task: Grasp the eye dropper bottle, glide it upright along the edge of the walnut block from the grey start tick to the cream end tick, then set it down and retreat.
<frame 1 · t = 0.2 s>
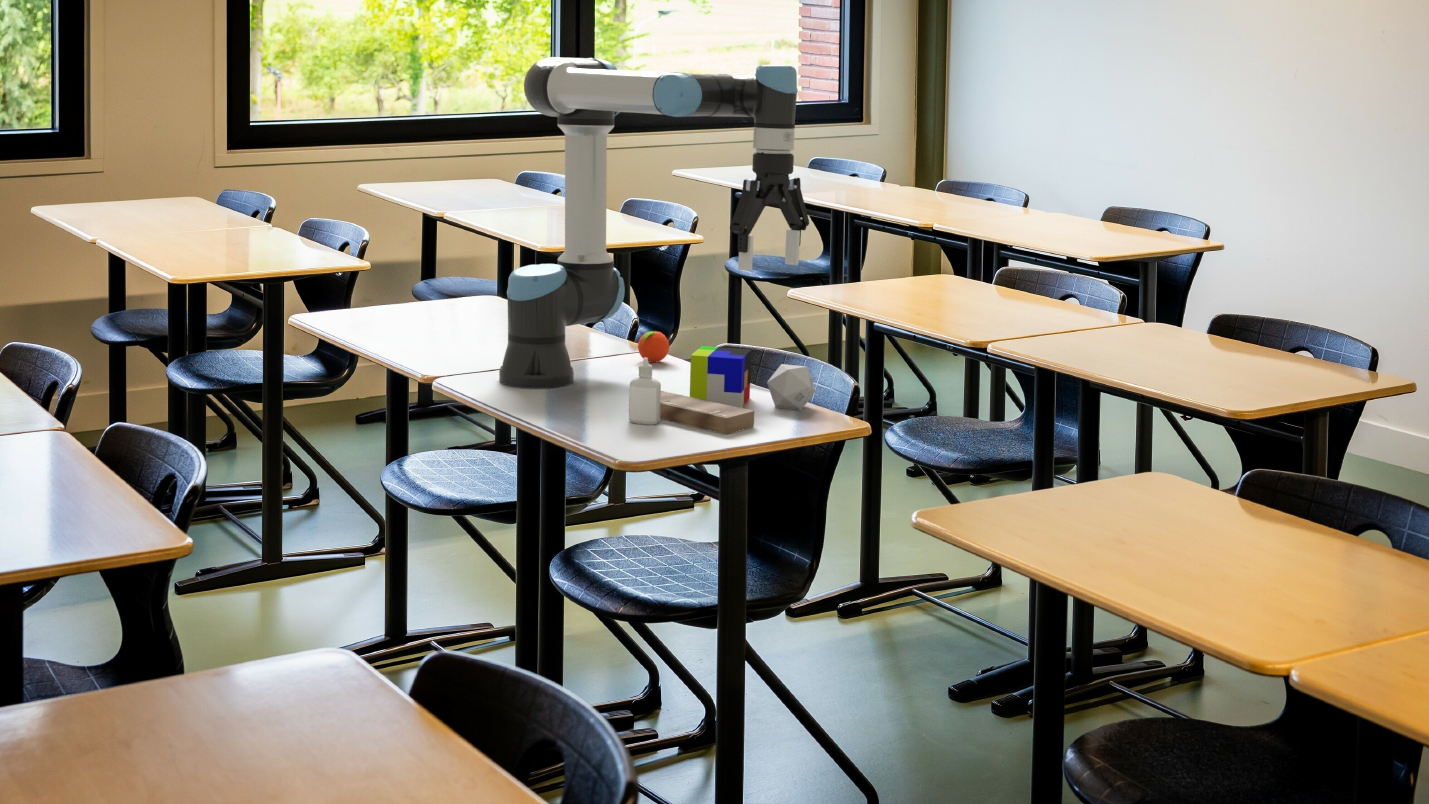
hand: (768, 267, 262), 28 cm above the table, tool pointing down, fingers open, 13 cm apart
puzzle toy: (719, 403, 276), on the table
clementine: (651, 363, 311), on the table
walnut block: (691, 419, 261), on the table
die: (790, 407, 274), on the table
eye dropper bottle: (644, 423, 258), on the table
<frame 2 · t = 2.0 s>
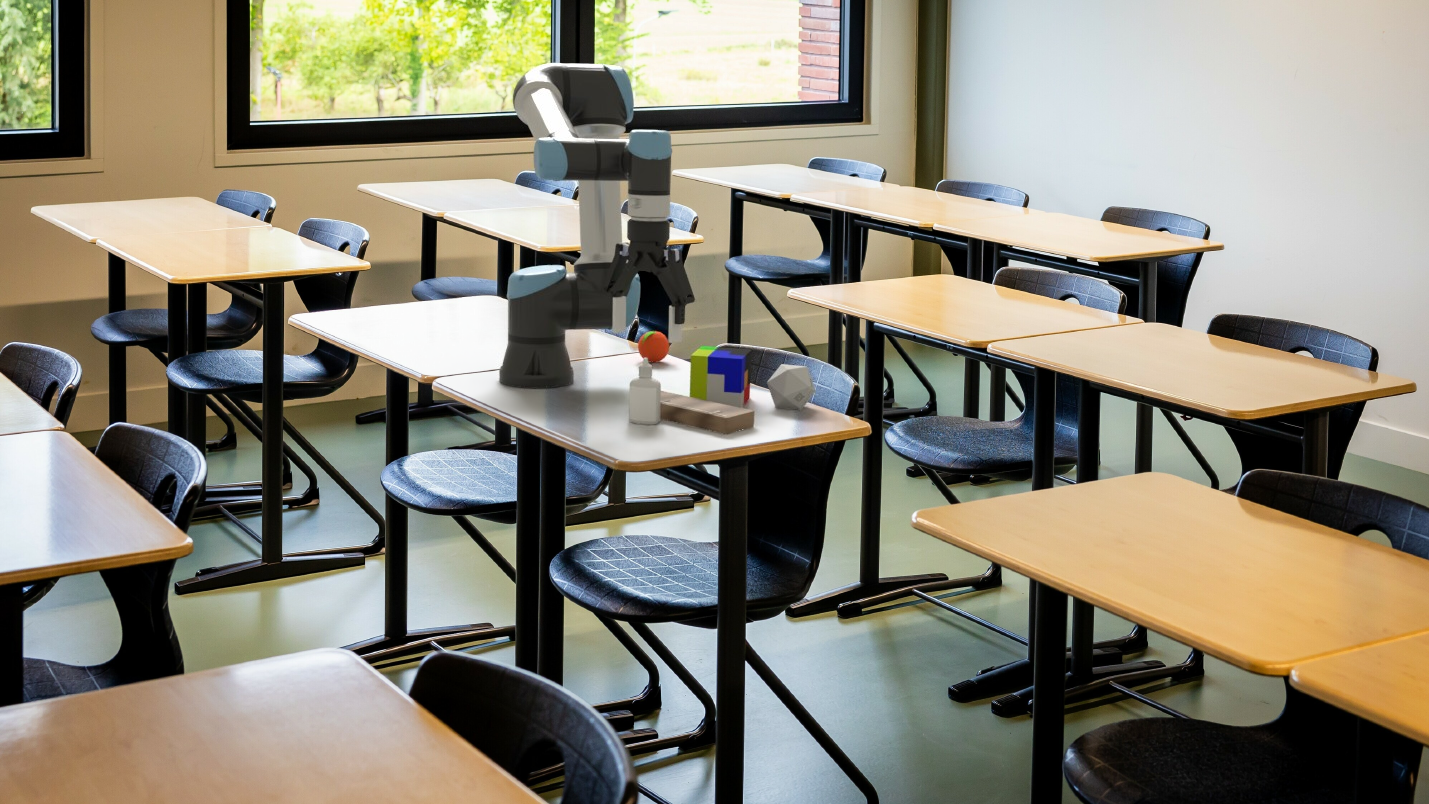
hand: (646, 337, 254), 16 cm above the table, tool pointing down, fingers open, 13 cm apart
nothing on the table moved.
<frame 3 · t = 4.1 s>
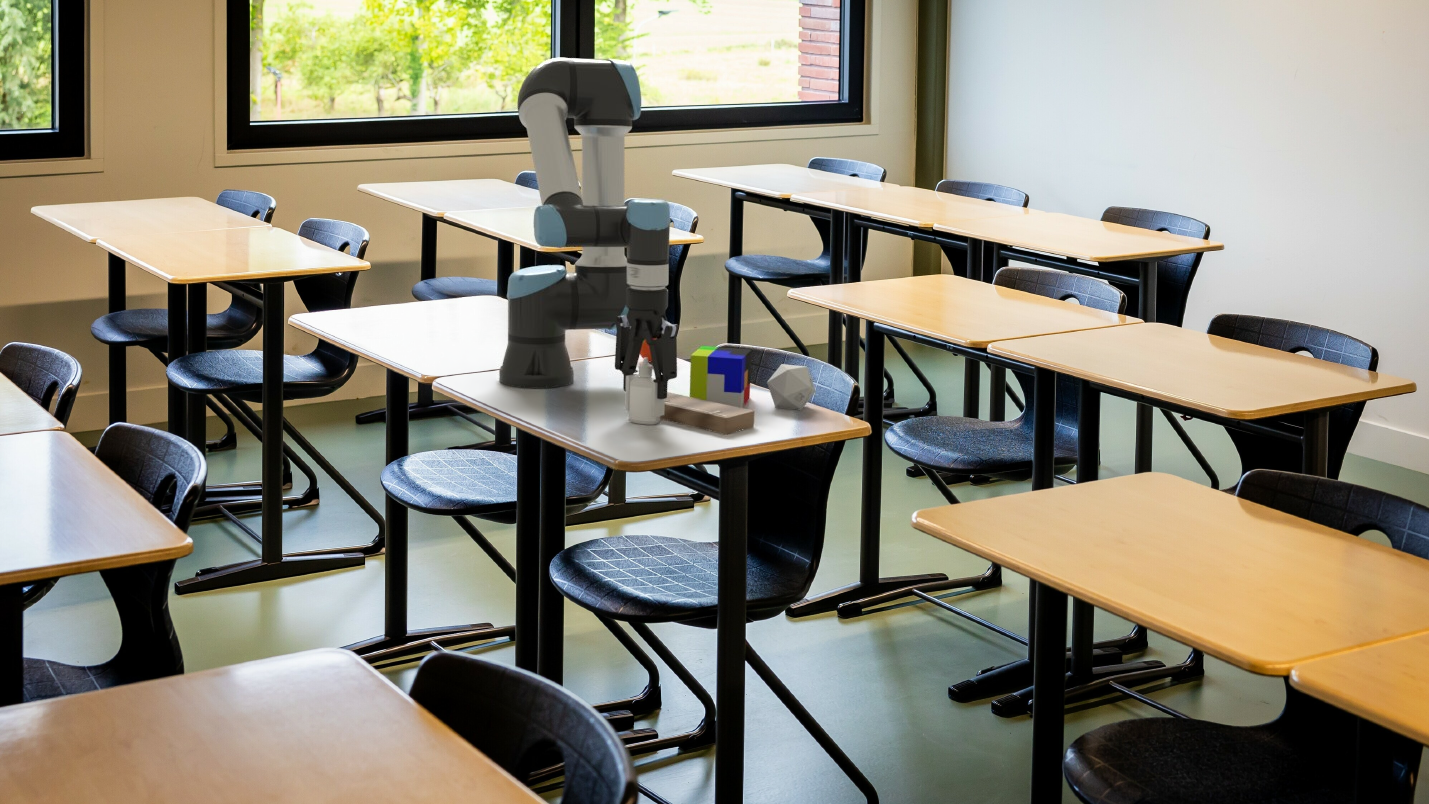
hand: (644, 412, 257), 2 cm above the table, tool pointing down, fingers closed on eye dropper bottle, 6 cm apart
eye dropper bottle: (644, 423, 258), on the table, touching gripper
everything else where it was.
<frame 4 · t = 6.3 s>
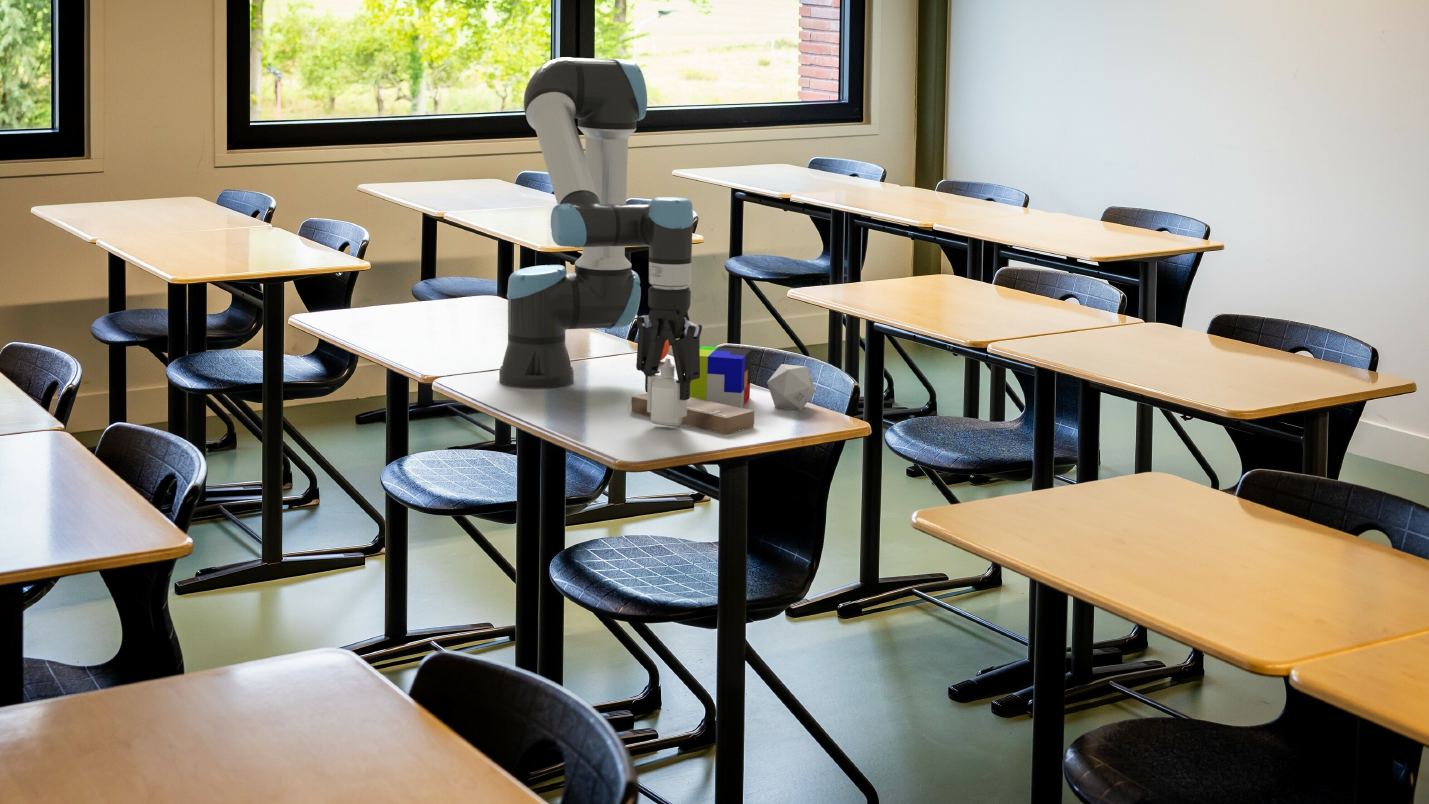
hand: (666, 413, 254), 3 cm above the table, tool pointing down, fingers closed on eye dropper bottle, 6 cm apart
eye dropper bottle: (666, 424, 254), point 1 cm above the table, touching gripper
everything else where it was.
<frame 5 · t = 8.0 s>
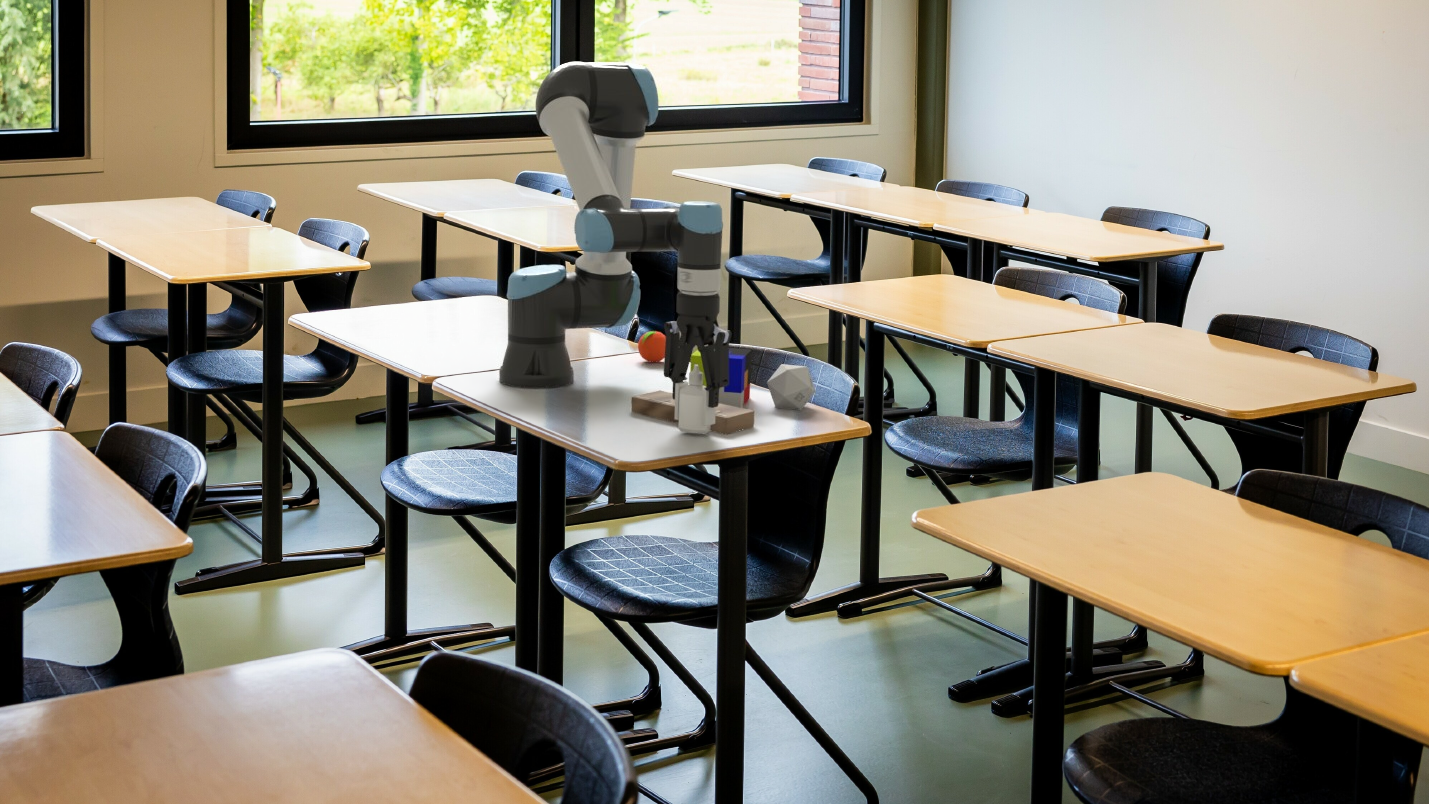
hand: (694, 421, 250), 2 cm above the table, tool pointing down, fingers closed on eye dropper bottle, 6 cm apart
eye dropper bottle: (694, 432, 250), on the table, touching gripper
everything else where it was.
when the fingers open (2 cm above the table, at t = 8.8 s): eye dropper bottle stays where it is, on the table.
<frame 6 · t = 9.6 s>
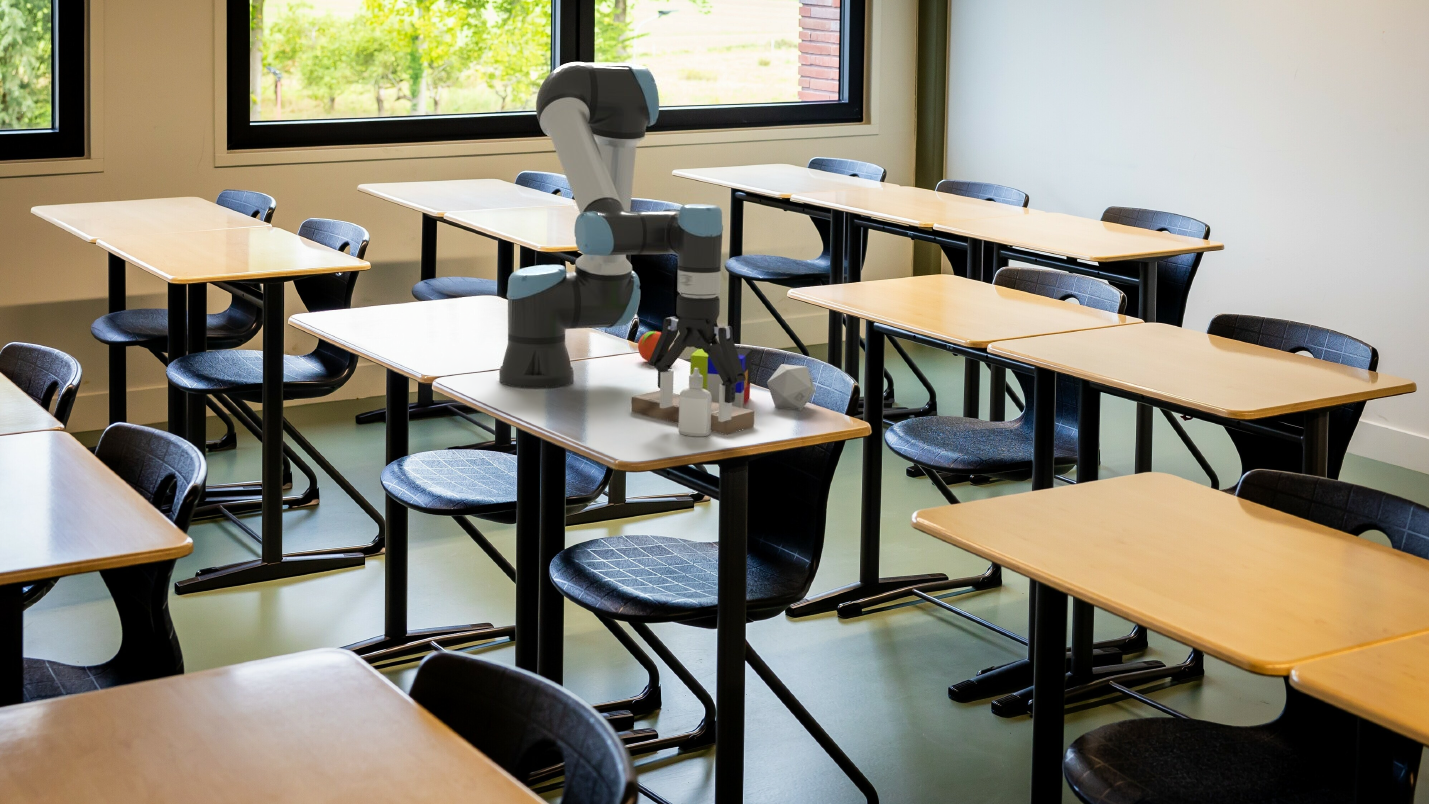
hand: (695, 413, 249), 4 cm above the table, tool pointing down, fingers open, 13 cm apart
eye dropper bottle: (694, 435, 250), on the table
everything else where it was.
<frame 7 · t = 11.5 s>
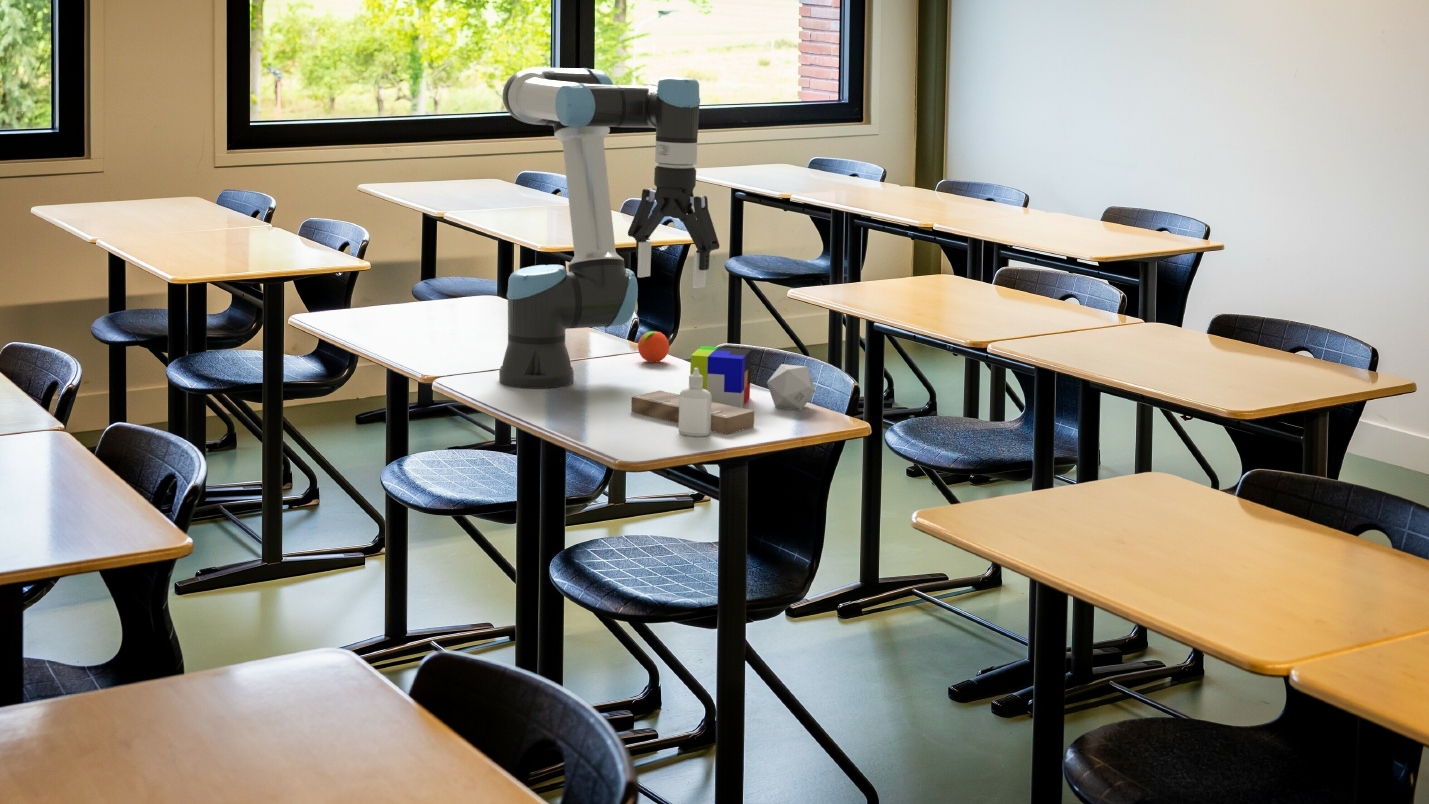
hand: (671, 282, 259), 25 cm above the table, tool pointing down, fingers open, 13 cm apart
nothing on the table moved.
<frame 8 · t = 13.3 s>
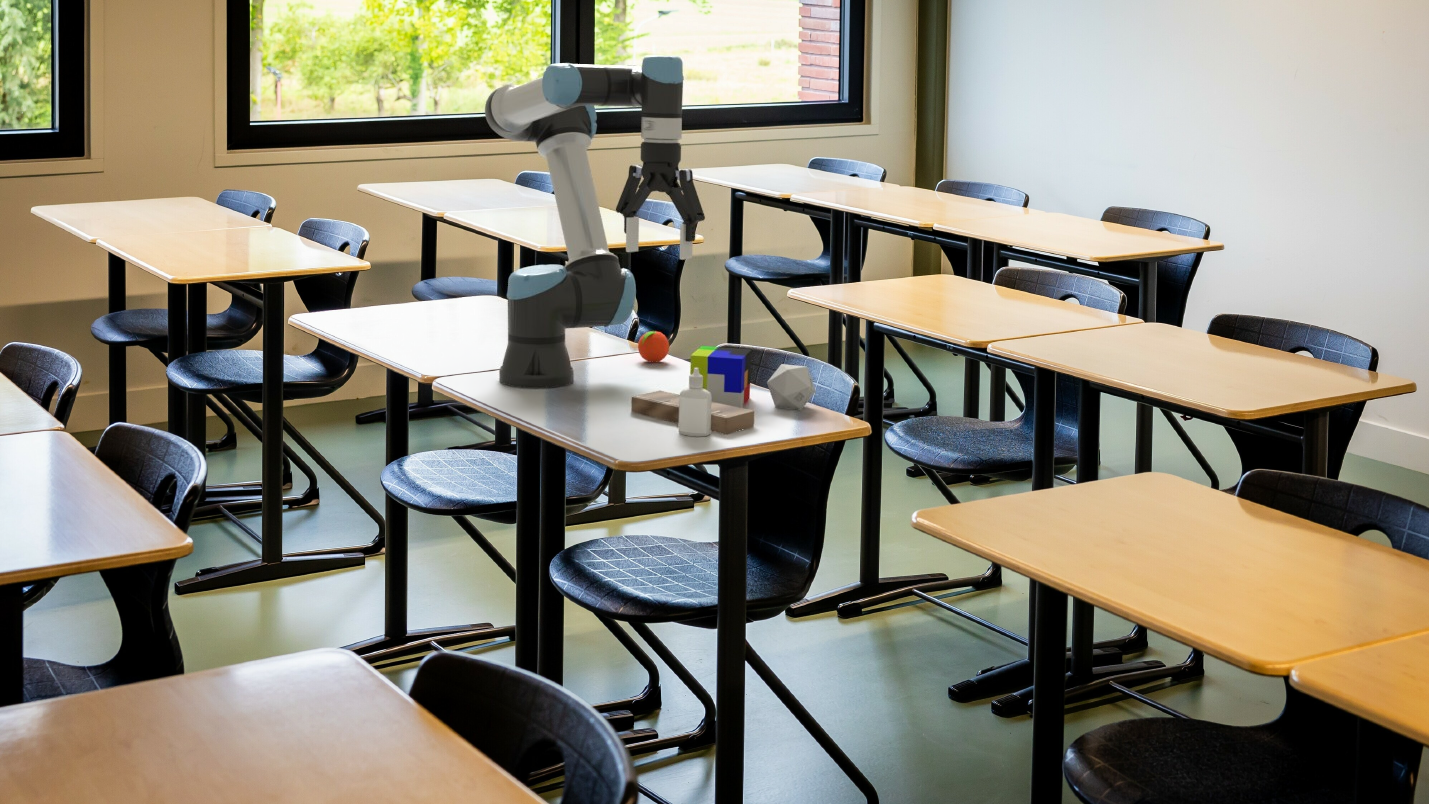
hand: (658, 255, 266), 29 cm above the table, tool pointing down, fingers open, 13 cm apart
nothing on the table moved.
at the end: eye dropper bottle 0.2 cm from the target spot, on the table; eye dropper bottle tilted 0°; the gripper is holding nothing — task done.
